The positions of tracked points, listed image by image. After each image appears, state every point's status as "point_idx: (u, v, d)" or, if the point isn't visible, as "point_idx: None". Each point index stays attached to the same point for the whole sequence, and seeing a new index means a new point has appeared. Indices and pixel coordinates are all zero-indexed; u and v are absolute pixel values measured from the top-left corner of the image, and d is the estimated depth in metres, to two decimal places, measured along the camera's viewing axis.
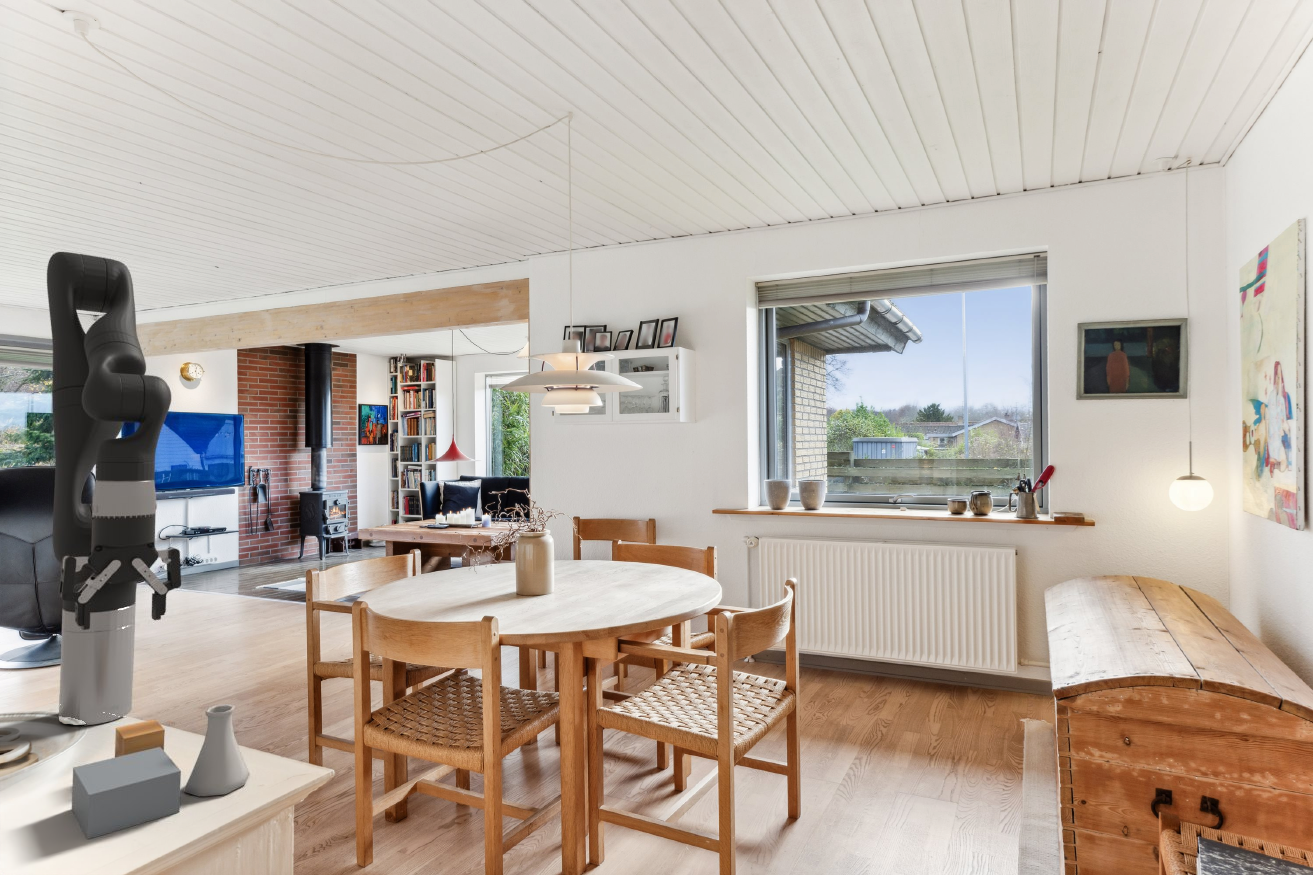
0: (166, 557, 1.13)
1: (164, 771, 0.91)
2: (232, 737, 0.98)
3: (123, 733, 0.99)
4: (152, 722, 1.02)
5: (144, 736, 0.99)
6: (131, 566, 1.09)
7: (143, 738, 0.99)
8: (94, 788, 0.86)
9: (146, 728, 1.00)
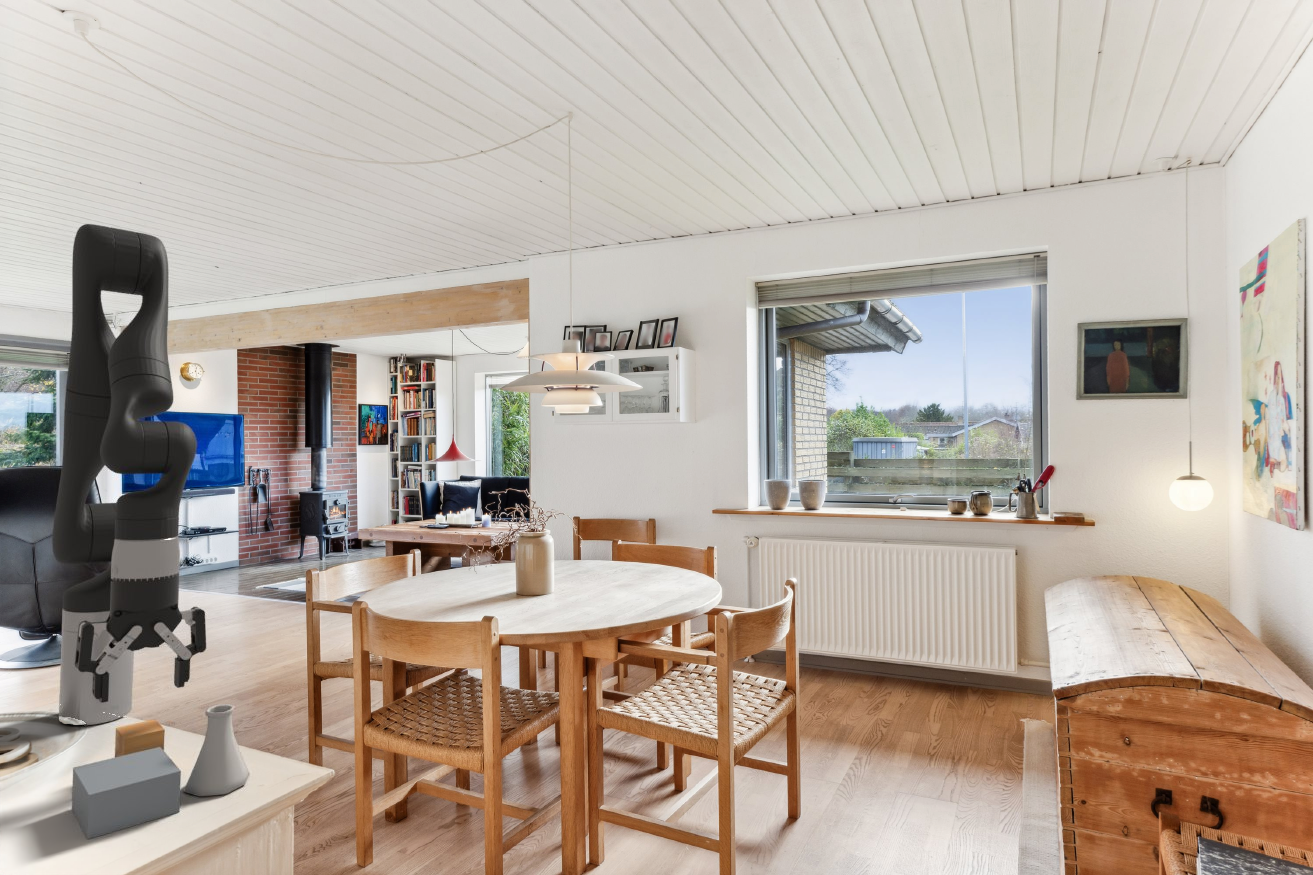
0: (190, 619, 1.04)
1: (164, 771, 0.91)
2: (232, 737, 0.98)
3: (123, 733, 0.99)
4: (152, 722, 1.02)
5: (144, 736, 0.99)
6: (153, 631, 1.00)
7: (143, 738, 0.99)
8: (94, 788, 0.86)
9: (146, 728, 1.00)
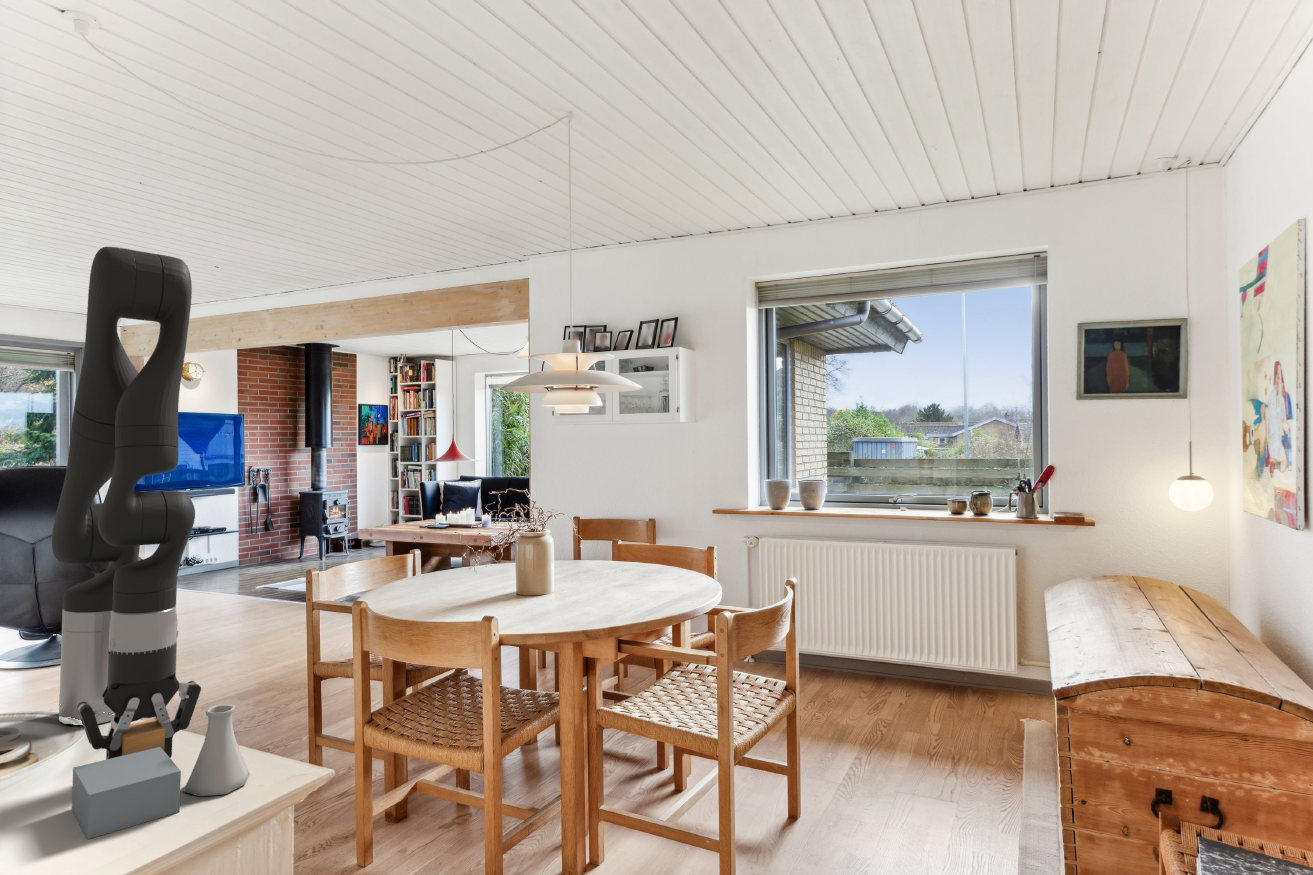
0: (185, 692, 1.04)
1: (164, 771, 0.91)
2: (232, 737, 0.98)
3: None
4: (152, 722, 1.02)
5: (145, 736, 0.99)
6: (149, 700, 1.00)
7: (143, 738, 0.99)
8: (94, 788, 0.86)
9: (147, 728, 1.00)
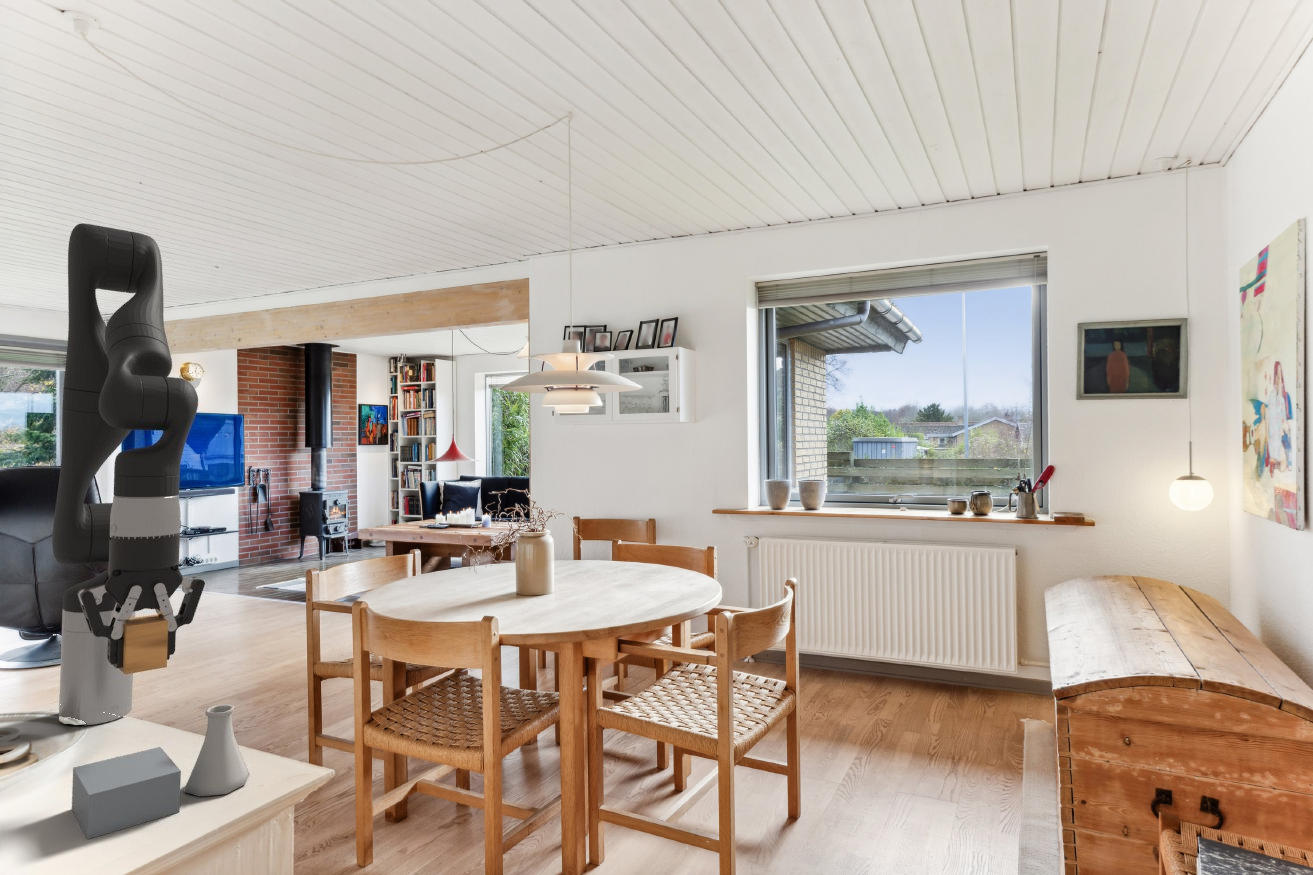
0: (188, 586, 1.01)
1: (164, 771, 0.91)
2: (232, 737, 0.98)
3: None
4: (155, 616, 0.99)
5: (148, 626, 0.96)
6: (151, 590, 0.97)
7: (146, 628, 0.96)
8: (94, 788, 0.86)
9: (149, 620, 0.97)
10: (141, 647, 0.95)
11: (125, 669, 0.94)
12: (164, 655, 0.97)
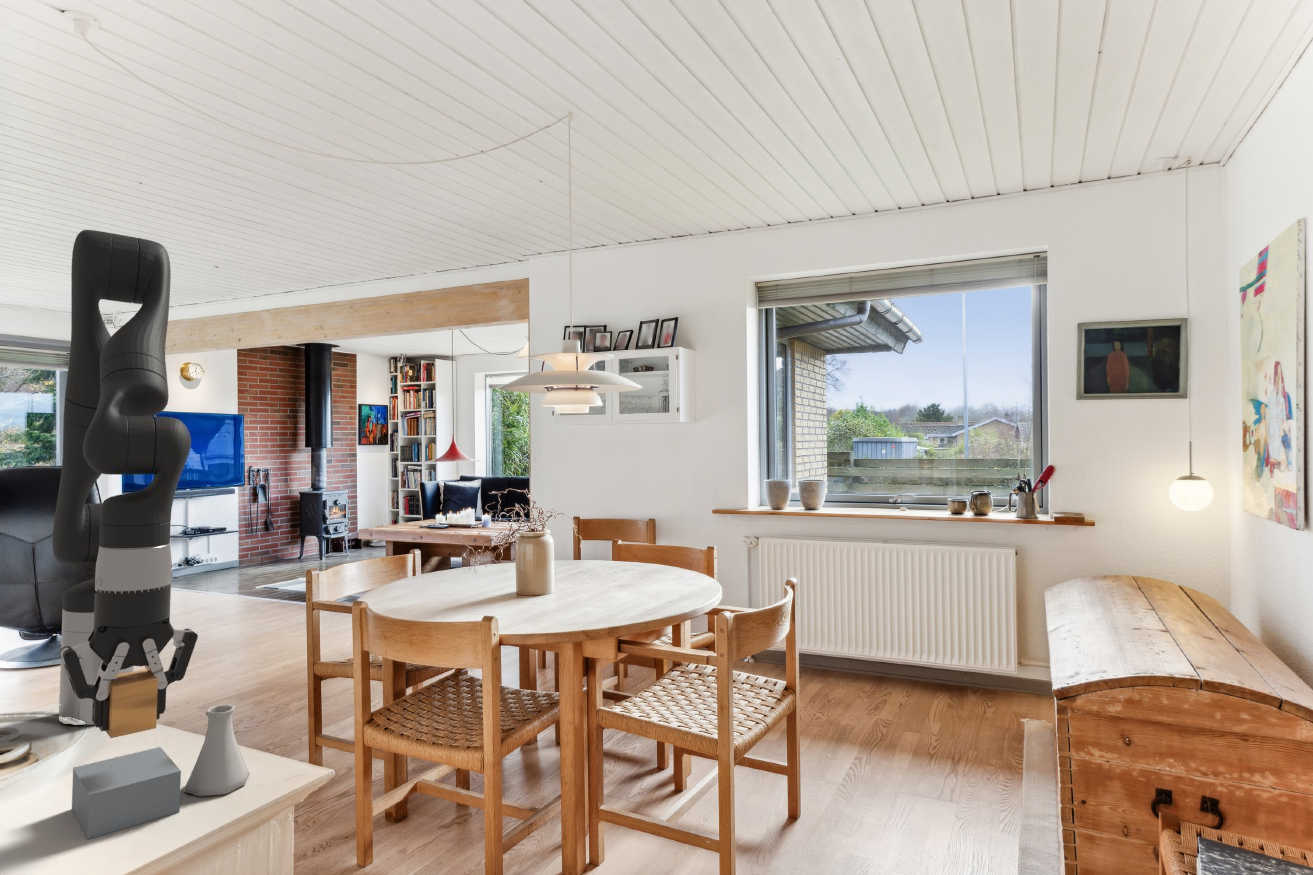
0: (180, 640, 0.94)
1: (164, 771, 0.91)
2: (232, 737, 0.98)
3: None
4: (144, 672, 0.93)
5: (135, 685, 0.89)
6: (140, 646, 0.90)
7: (134, 687, 0.89)
8: (94, 788, 0.86)
9: (138, 677, 0.91)
10: (129, 708, 0.89)
11: (111, 732, 0.88)
12: (153, 715, 0.91)
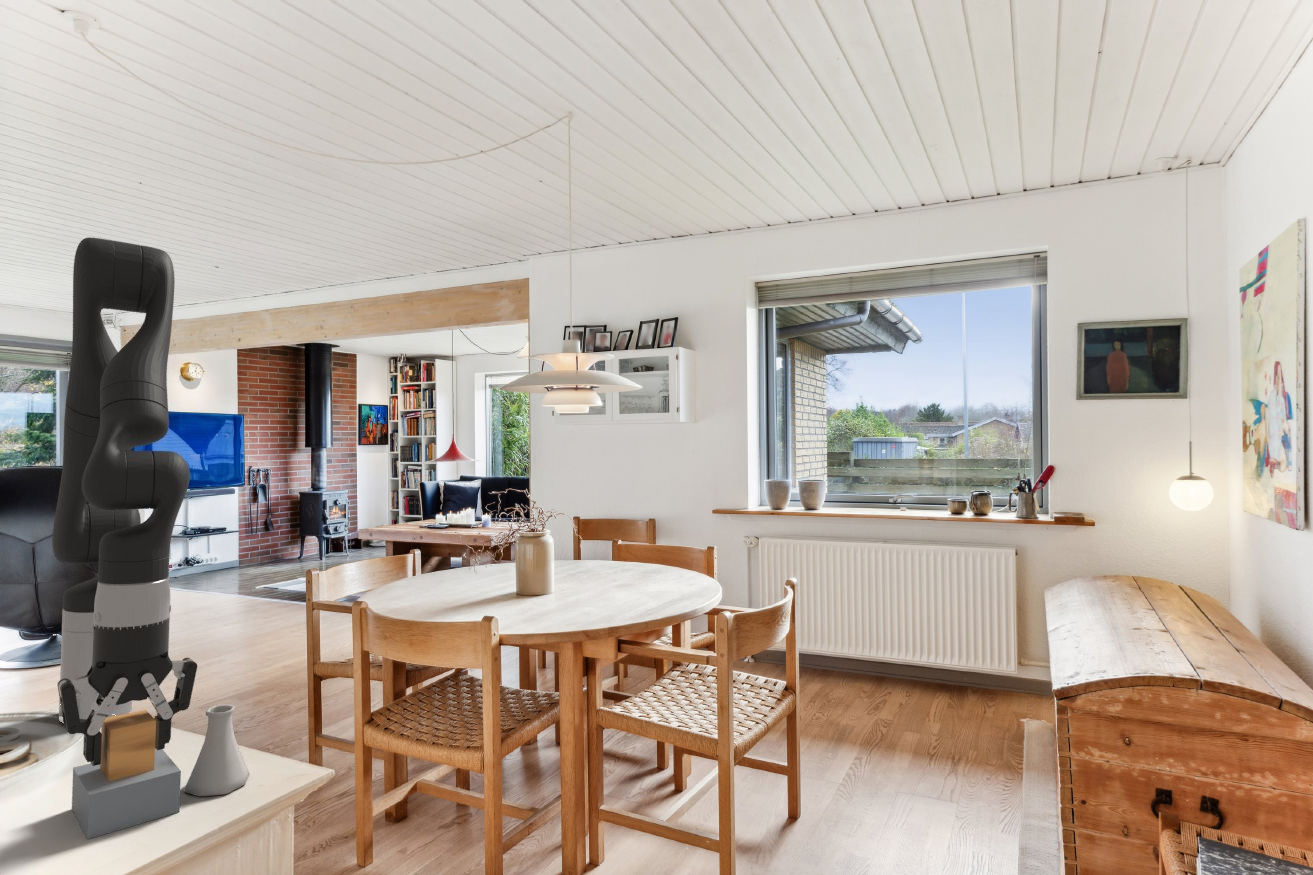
0: (180, 670, 0.94)
1: (164, 771, 0.91)
2: (232, 737, 0.98)
3: (110, 724, 0.89)
4: (142, 713, 0.93)
5: (134, 728, 0.89)
6: (139, 681, 0.90)
7: (132, 730, 0.89)
8: (94, 788, 0.86)
9: (136, 719, 0.91)
10: (127, 750, 0.89)
11: (109, 776, 0.88)
12: (151, 757, 0.91)
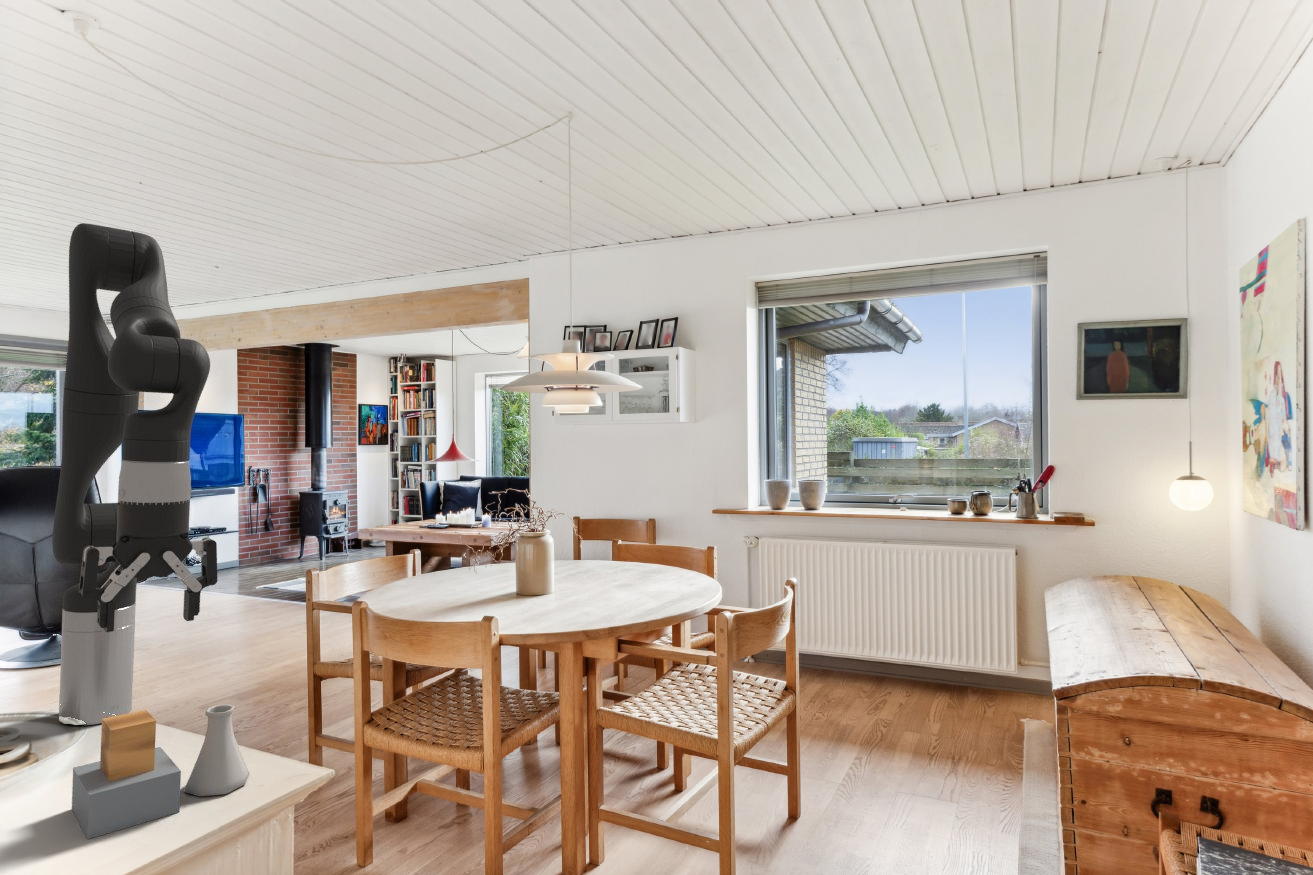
0: (201, 549, 0.98)
1: (164, 771, 0.91)
2: (232, 737, 0.98)
3: (110, 724, 0.89)
4: (142, 713, 0.93)
5: (134, 728, 0.89)
6: (162, 560, 0.94)
7: (132, 730, 0.89)
8: (94, 788, 0.86)
9: (136, 719, 0.91)
10: (127, 750, 0.89)
11: (109, 776, 0.88)
12: (151, 757, 0.91)
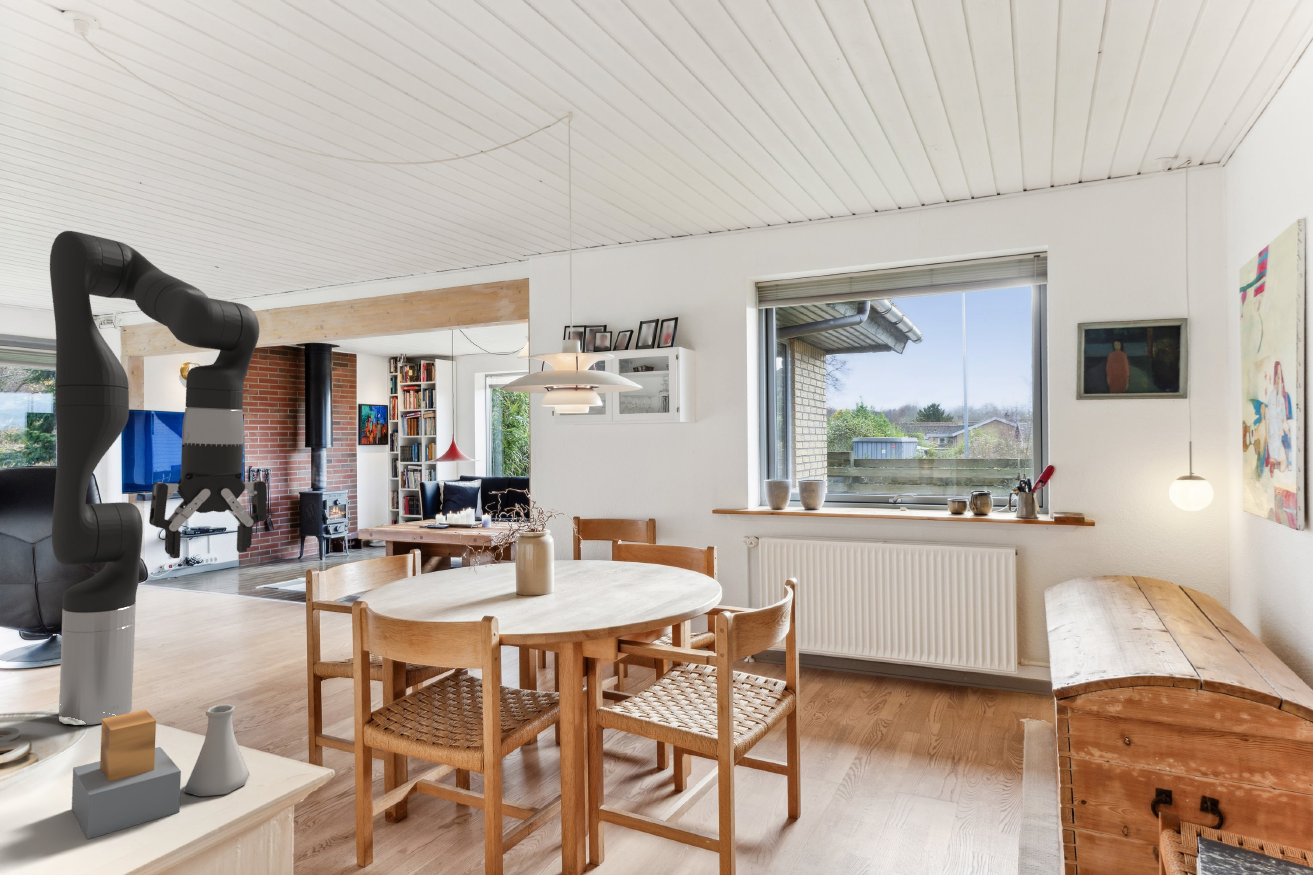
0: (252, 489, 1.11)
1: (164, 771, 0.91)
2: (232, 737, 0.98)
3: (110, 724, 0.89)
4: (142, 713, 0.93)
5: (134, 728, 0.89)
6: (219, 496, 1.07)
7: (132, 730, 0.89)
8: (94, 788, 0.86)
9: (136, 719, 0.91)
10: (127, 750, 0.89)
11: (109, 776, 0.88)
12: (151, 757, 0.91)
